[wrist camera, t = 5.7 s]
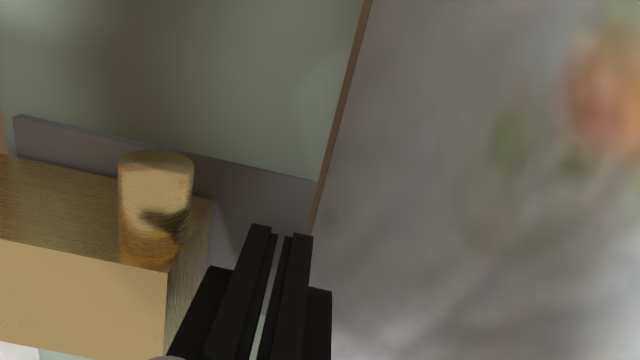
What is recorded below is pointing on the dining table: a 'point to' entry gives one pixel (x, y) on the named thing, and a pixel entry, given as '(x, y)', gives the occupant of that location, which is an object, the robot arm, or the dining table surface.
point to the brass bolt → (100, 255)
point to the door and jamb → (187, 100)
